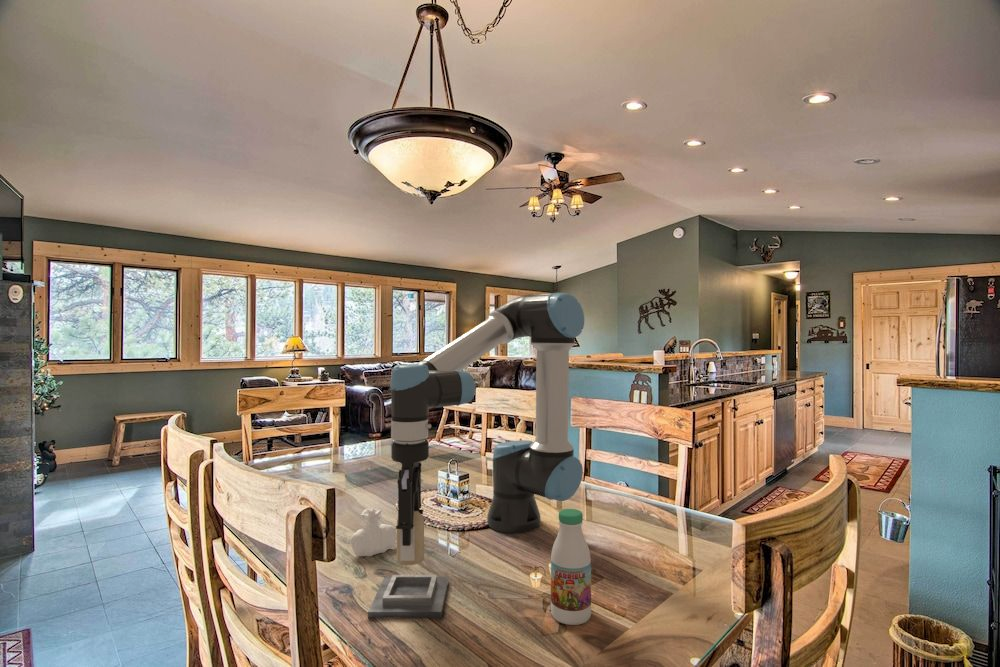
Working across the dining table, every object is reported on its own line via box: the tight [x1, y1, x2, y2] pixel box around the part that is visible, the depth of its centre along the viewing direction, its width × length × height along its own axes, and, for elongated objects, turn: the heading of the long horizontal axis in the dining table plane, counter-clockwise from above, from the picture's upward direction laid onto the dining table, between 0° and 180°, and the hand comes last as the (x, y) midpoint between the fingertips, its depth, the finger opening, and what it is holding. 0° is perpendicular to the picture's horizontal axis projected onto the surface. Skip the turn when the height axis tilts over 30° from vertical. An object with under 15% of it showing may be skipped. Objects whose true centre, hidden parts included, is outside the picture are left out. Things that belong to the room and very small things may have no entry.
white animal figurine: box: [349, 507, 397, 557], centre depth 129 cm, size 12×8×11 cm
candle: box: [396, 511, 425, 566], centre depth 106 cm, size 6×6×10 cm
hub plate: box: [367, 574, 450, 619], centre depth 106 cm, size 14×14×3 cm
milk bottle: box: [550, 508, 592, 626], centre depth 100 cm, size 8×8×20 cm
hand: (410, 552), depth 106 cm, fingers closed on candle, 5 cm apart
